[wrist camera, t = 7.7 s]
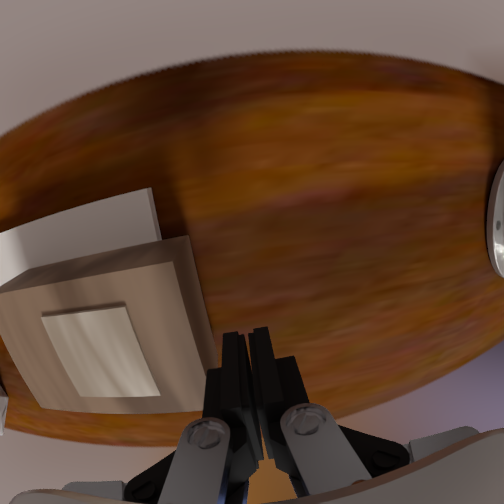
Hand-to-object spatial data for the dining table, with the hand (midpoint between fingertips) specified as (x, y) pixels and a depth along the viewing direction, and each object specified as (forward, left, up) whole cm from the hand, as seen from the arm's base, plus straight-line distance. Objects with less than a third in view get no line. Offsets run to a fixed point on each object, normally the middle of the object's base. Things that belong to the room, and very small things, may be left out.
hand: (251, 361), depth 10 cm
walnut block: (+2, 0, -4) cm, 5 cm away
